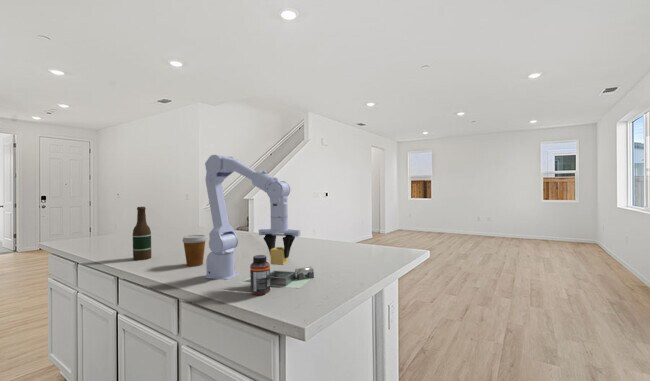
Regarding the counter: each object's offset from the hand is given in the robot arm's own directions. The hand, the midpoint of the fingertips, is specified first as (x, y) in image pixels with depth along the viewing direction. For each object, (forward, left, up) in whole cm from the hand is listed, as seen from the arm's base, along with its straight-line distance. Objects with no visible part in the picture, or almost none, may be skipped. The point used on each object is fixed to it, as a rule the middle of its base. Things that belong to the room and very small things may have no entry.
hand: (279, 257), depth 110 cm
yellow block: (0, 0, -2) cm, 2 cm away
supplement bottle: (-2, -11, -9) cm, 14 cm away
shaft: (+6, +6, -9) cm, 13 cm away
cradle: (0, 0, -9) cm, 9 cm away
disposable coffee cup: (-46, +15, -9) cm, 49 cm away
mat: (-2, +3, -9) cm, 10 cm away
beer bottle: (-78, +19, -9) cm, 81 cm away
